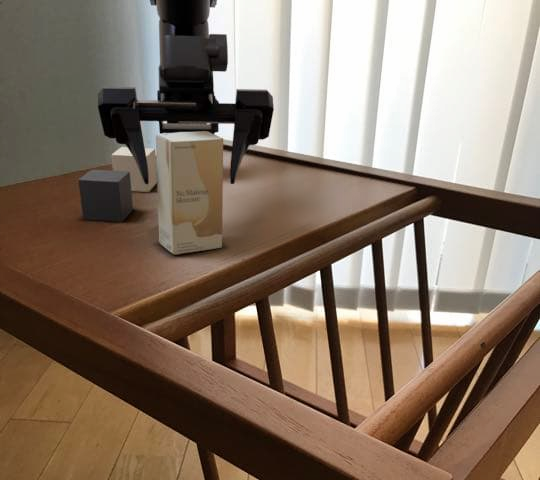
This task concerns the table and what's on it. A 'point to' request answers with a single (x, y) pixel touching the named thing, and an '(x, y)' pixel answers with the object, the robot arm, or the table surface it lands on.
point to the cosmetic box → (189, 191)
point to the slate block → (106, 195)
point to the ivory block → (135, 168)
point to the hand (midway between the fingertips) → (189, 182)
